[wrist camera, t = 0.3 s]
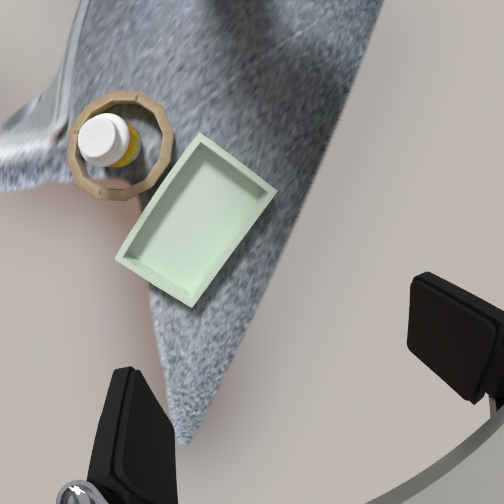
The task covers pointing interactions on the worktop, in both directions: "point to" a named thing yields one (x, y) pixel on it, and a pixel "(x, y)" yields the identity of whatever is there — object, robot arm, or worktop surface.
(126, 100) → the collar
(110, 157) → the supplement bottle
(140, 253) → the tray
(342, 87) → the worktop surface
